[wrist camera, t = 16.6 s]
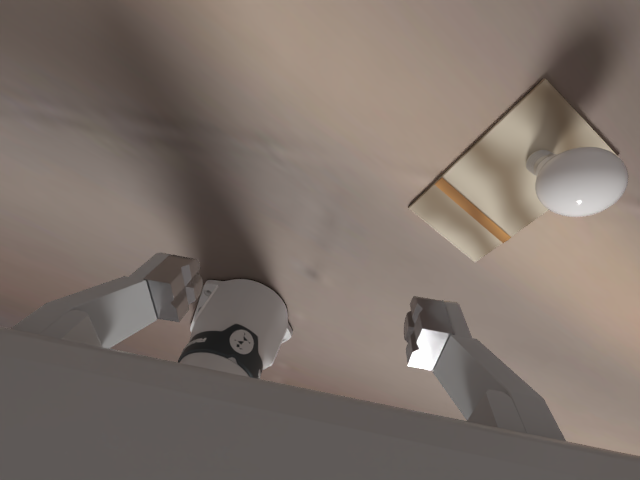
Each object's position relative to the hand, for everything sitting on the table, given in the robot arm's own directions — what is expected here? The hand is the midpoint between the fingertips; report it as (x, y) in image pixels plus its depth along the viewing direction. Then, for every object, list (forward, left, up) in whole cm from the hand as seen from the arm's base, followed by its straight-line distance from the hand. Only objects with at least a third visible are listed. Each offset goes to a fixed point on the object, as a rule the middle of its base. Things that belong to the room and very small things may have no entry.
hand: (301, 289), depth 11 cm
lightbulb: (+12, -18, -29) cm, 36 cm away
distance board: (+7, -18, -29) cm, 35 cm away
